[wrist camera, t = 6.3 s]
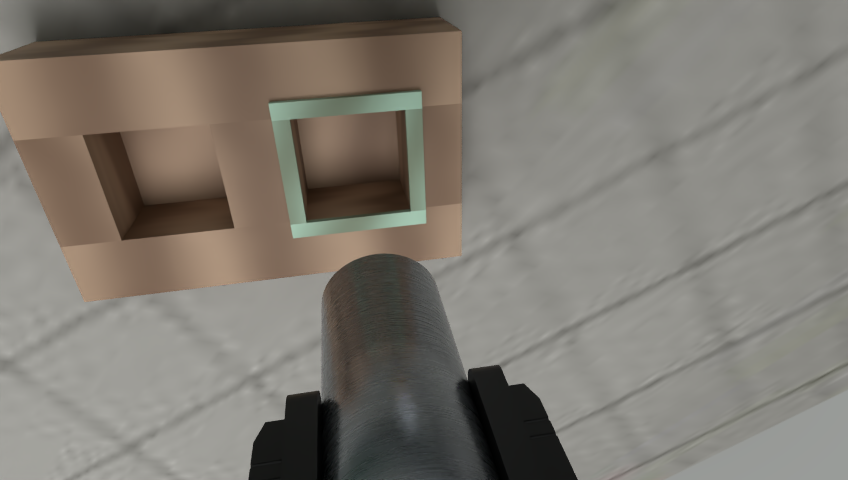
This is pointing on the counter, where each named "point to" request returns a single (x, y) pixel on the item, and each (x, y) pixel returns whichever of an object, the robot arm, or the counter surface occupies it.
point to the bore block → (241, 150)
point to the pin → (395, 380)
